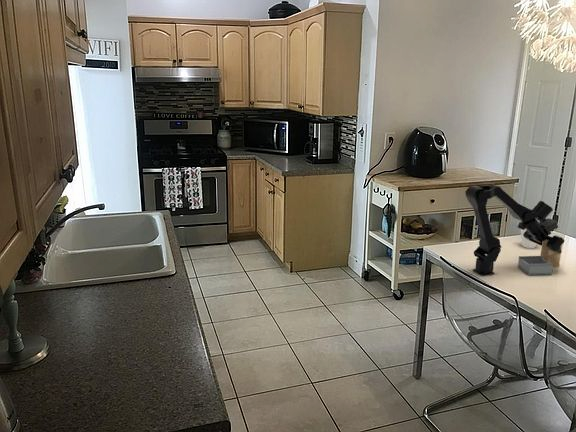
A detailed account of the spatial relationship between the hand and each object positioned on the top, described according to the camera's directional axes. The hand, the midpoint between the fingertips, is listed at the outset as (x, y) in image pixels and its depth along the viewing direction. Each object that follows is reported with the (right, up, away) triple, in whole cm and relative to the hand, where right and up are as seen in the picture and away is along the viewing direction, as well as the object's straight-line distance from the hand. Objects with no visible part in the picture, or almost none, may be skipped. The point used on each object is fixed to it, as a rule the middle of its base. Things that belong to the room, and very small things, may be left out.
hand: (552, 249), depth 212 cm
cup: (+2, -1, +26) cm, 26 cm away
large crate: (-11, -9, -5) cm, 15 cm away
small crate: (-1, -7, +2) cm, 7 cm away
